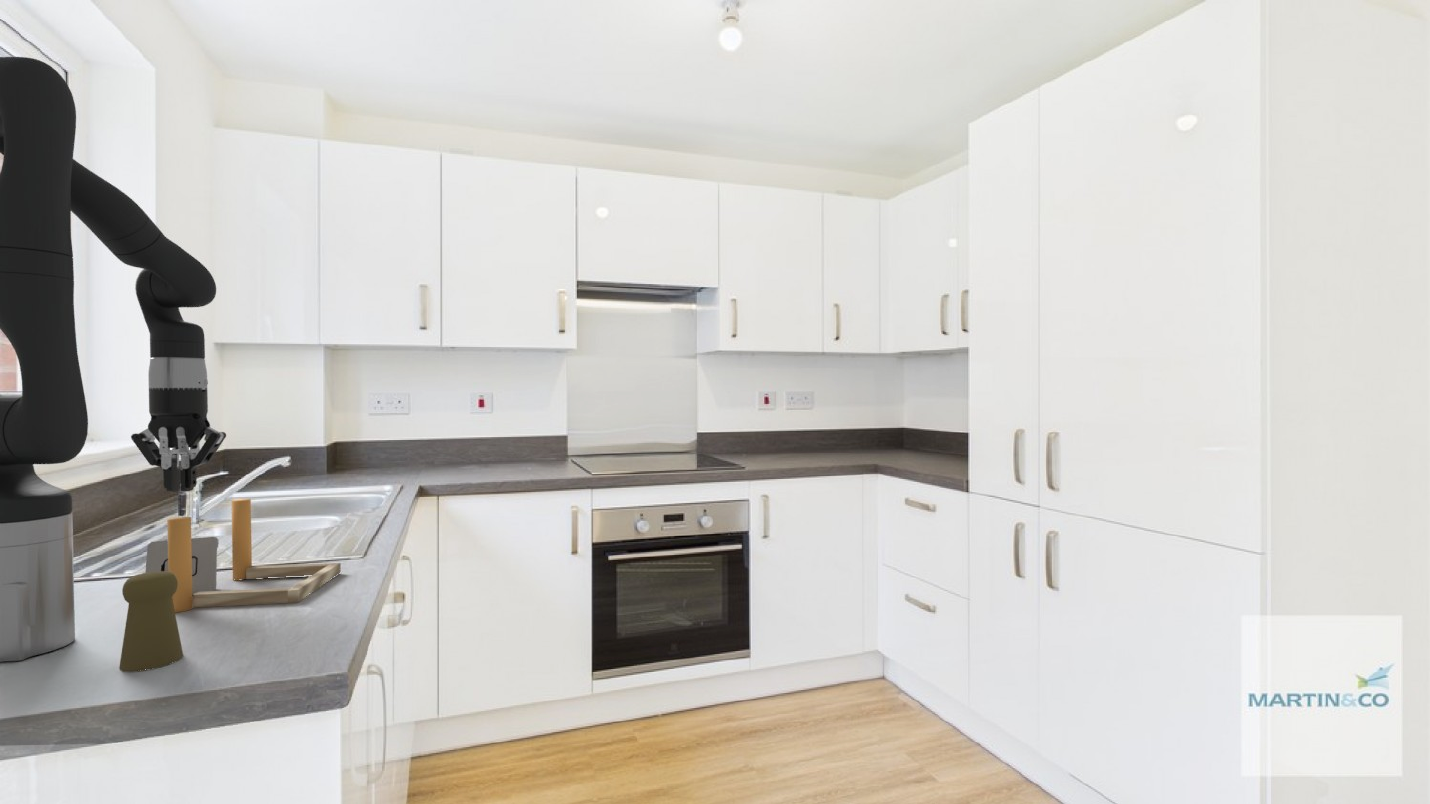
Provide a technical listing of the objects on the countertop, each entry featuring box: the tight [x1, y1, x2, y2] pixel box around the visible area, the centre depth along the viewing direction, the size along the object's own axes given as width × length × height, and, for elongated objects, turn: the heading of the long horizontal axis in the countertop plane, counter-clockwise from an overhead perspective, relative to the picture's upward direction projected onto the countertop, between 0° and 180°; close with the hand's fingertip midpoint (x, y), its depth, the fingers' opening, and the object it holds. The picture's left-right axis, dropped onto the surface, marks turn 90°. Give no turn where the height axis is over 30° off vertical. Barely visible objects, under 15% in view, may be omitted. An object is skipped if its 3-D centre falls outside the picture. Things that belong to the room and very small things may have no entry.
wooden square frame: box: [192, 562, 342, 608], centre depth 112 cm, size 16×15×2 cm
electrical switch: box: [144, 536, 219, 595], centre depth 110 cm, size 9×5×9 cm, turn 116°
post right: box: [231, 498, 253, 581], centre depth 118 cm, size 3×3×14 cm
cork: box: [118, 571, 184, 673], centre depth 82 cm, size 6×6×11 cm
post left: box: [166, 516, 194, 614], centre depth 101 cm, size 3×3×14 cm
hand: (180, 490), depth 109 cm, fingers closed
